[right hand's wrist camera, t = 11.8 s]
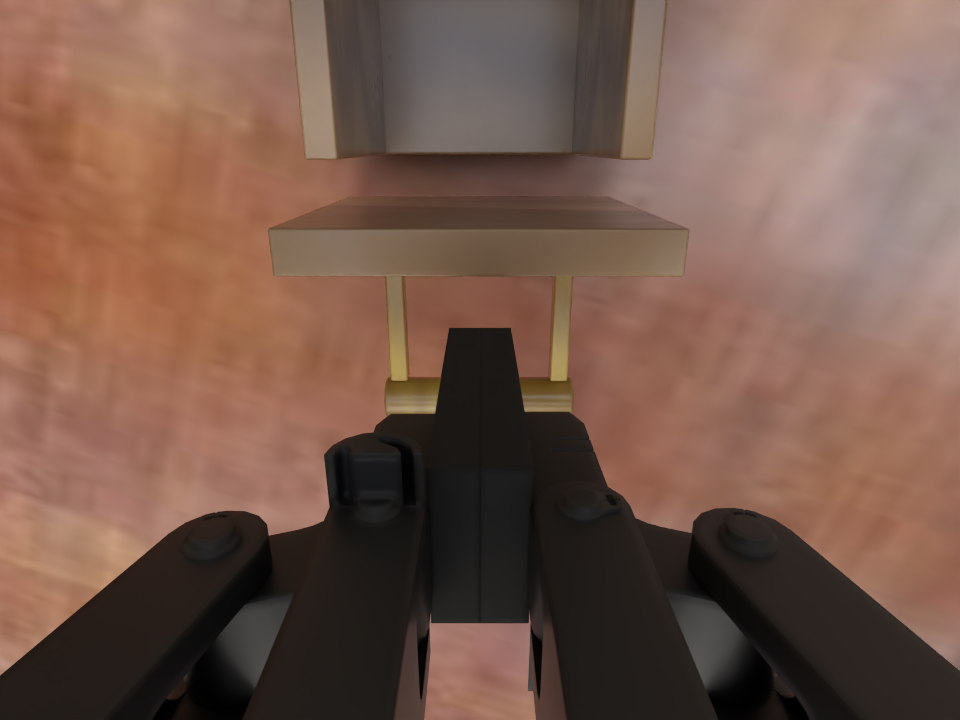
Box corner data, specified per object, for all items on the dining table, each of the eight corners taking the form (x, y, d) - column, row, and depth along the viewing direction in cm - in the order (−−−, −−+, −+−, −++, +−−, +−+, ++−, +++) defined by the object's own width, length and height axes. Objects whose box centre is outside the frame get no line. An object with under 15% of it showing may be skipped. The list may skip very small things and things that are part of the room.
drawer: (596, 368, 26) (658, 486, 17) (361, 368, 26) (298, 486, 17) (655, -405, 17) (843, -995, 8) (302, -406, 17) (113, -995, 8)
